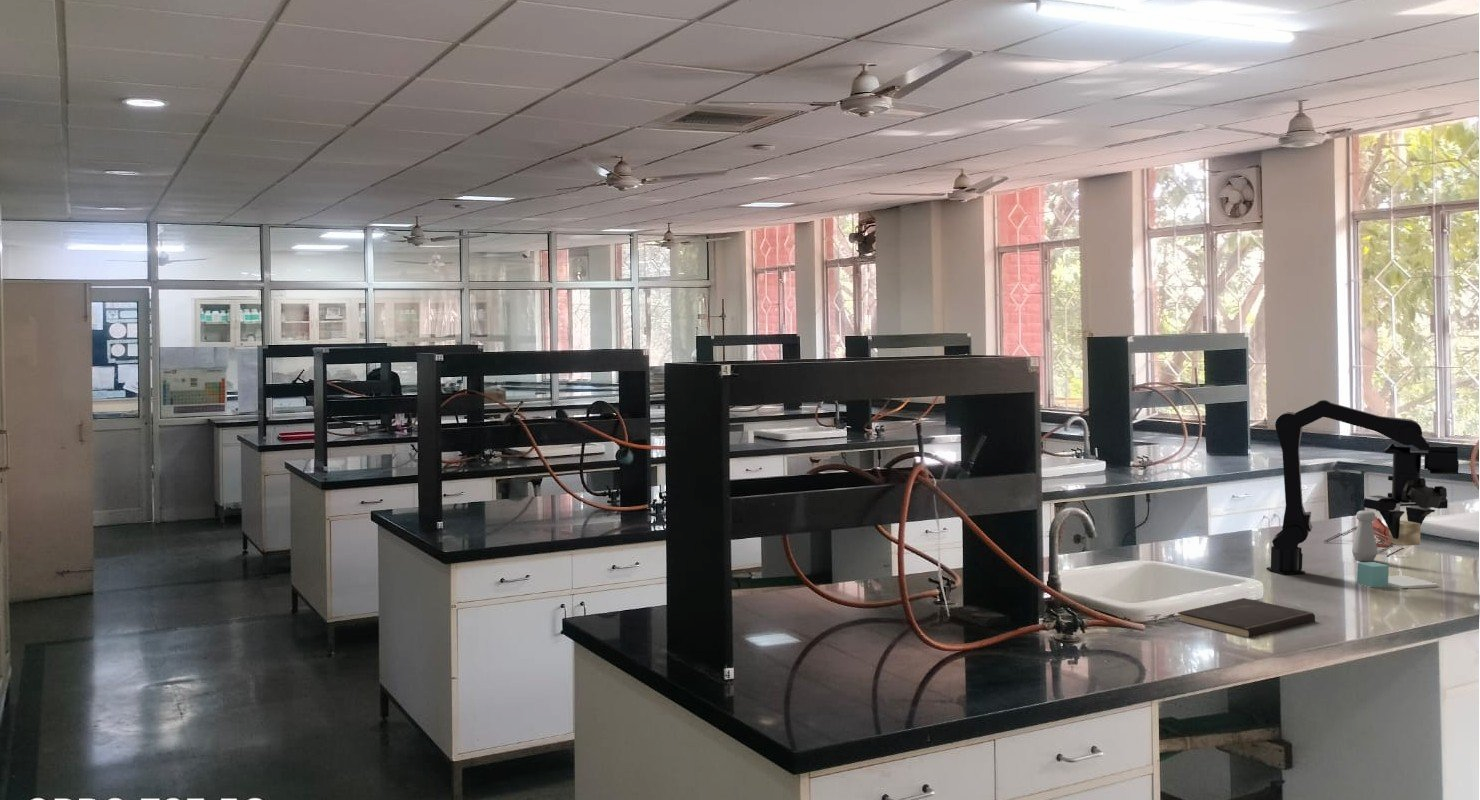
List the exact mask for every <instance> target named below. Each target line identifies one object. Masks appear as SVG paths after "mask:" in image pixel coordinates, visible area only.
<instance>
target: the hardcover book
mask: <svg viewBox="0 0 1480 800" xmlns="http://www.w3.org/2000/svg"><path fill="white" fill-rule="evenodd" d="M1177 614H1178V615H1179V621H1180V622H1183V623H1186V624H1187V623H1188V624H1191V625H1196V626H1200V627H1204V628H1207V629H1208V628H1209V629H1213V630H1216V631H1221V632H1224V633H1228V634H1232V635H1236V636H1242V637H1245V638H1248V639H1250V638H1255V637H1258V636H1263V635H1267V634H1271V633H1275V632H1278V631H1282V630H1283V631H1284V630H1286V629H1290V628H1295V627H1299V626H1303V625H1307V624H1311V623H1315V621H1316V616H1315V613H1314V612H1312V611H1306V610H1302V609H1297V608H1293V607H1287V606H1283V605H1282V606H1281V605H1278V604H1274V603H1273V604H1272V603H1268V602H1263V601H1261V600H1260V601H1259V600H1255V599H1249V598H1244V597H1242V598H1236V599H1233V600H1229V601H1224V602H1220V603H1219V602H1218V603H1214V604H1210V605H1205V606H1200V607H1197V608H1196V607H1195V608H1191V609H1185V610H1182V611H1179V612H1177Z"/></svg>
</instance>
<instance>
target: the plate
mask: <svg viewBox="0 0 1480 800" xmlns="http://www.w3.org/2000/svg"><path fill="white" fill-rule="evenodd" d="M1390 585H1391V587H1394V588H1397V587H1398V588H1397V589H1401V588H1408V589H1419V588H1420V589H1421V588H1425V589H1426V588H1438V587H1439V584H1438V583H1434V582H1431V581H1427V580H1424V579H1420V578H1416V577H1414V576H1413V577H1412V576H1408V575H1405V574H1403V575H1388V586H1390Z"/></svg>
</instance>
